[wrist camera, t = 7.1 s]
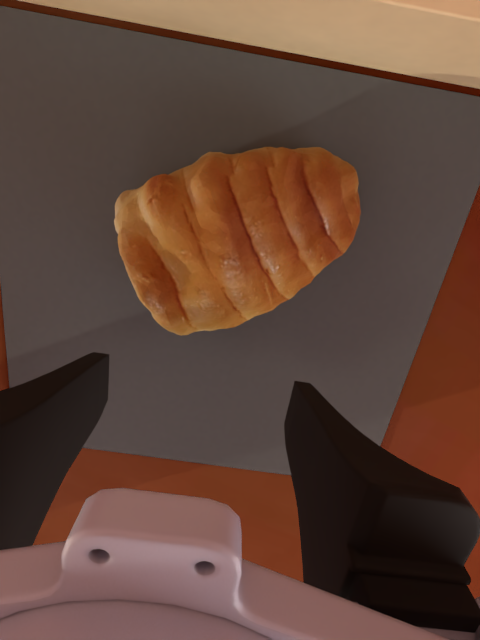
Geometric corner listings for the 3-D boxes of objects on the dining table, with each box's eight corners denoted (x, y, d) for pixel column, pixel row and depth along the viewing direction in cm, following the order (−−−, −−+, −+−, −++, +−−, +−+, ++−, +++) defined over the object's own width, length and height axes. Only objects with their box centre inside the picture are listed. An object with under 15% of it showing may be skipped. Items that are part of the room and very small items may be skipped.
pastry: (325, 102, 14) (353, 77, 10) (370, 262, 16) (406, 287, 13) (111, 199, 15) (72, 207, 12) (181, 334, 18) (166, 375, 14)
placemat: (364, 484, 21) (365, 485, 21) (14, 437, 20) (13, 438, 20) (508, 102, 14) (510, 102, 14) (-23, 2, 13) (-25, 0, 13)
